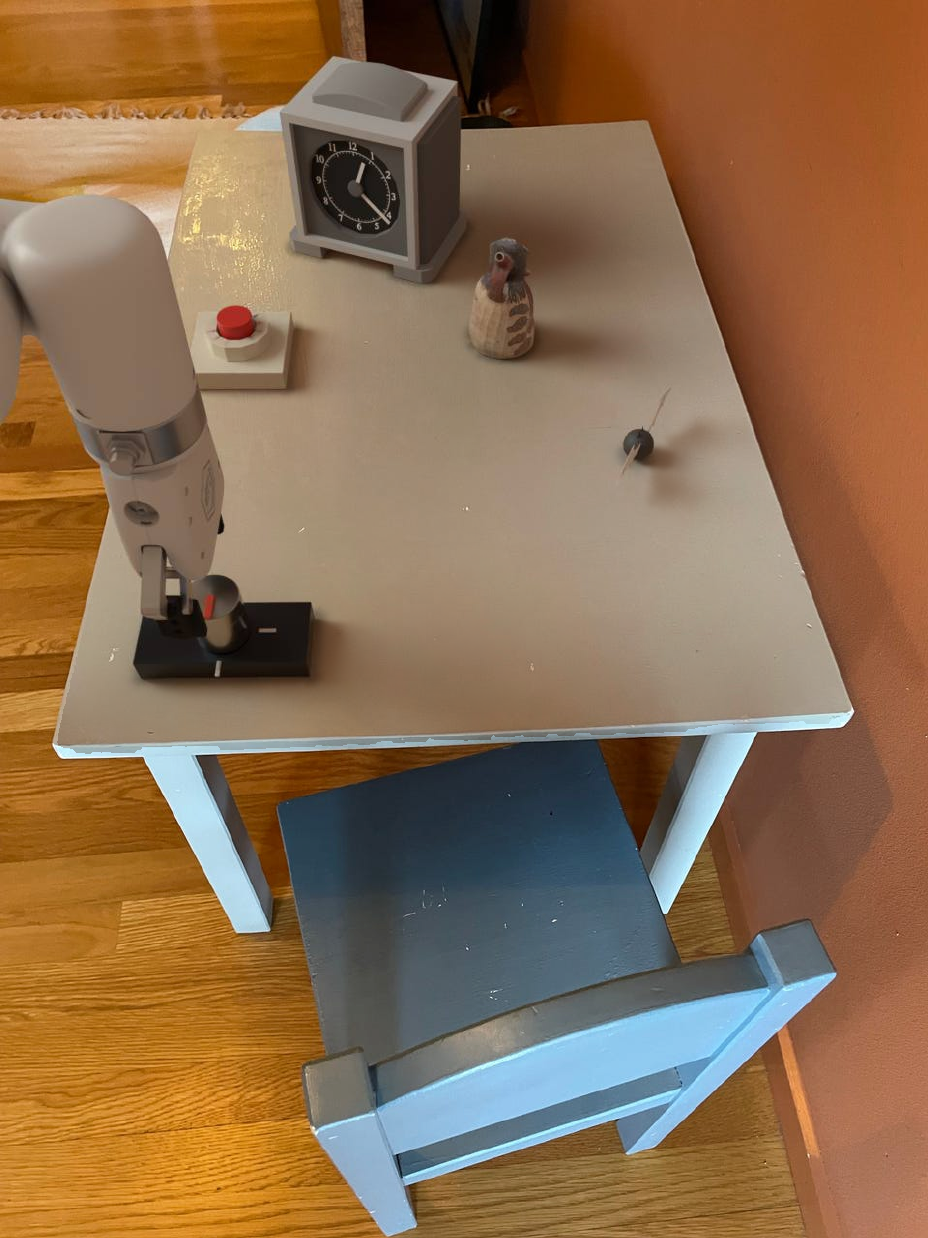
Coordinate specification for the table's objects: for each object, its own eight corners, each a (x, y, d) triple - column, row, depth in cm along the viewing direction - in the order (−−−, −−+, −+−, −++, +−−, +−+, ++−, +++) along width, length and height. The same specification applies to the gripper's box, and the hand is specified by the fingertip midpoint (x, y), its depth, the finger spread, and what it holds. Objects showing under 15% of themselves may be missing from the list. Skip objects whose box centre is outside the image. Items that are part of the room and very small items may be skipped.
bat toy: (675, 413, 94) (686, 377, 90) (622, 510, 87) (630, 476, 83) (648, 403, 95) (657, 368, 91) (593, 499, 87) (600, 464, 83)
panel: (138, 693, 75) (128, 676, 72) (155, 607, 79) (147, 589, 77) (308, 691, 75) (304, 674, 73) (316, 605, 80) (312, 587, 77)
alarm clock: (287, 249, 108) (261, 90, 93) (333, 192, 115) (317, 34, 100) (429, 285, 105) (427, 125, 90) (469, 223, 112) (472, 66, 97)
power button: (217, 341, 94) (214, 327, 92) (222, 318, 96) (218, 304, 94) (252, 341, 94) (249, 327, 92) (256, 318, 96) (253, 304, 94)
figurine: (544, 331, 101) (555, 232, 91) (516, 368, 97) (524, 270, 87) (487, 310, 103) (492, 212, 93) (457, 347, 99) (459, 248, 89)
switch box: (190, 389, 95) (180, 358, 91) (203, 327, 100) (195, 296, 97) (286, 389, 95) (280, 358, 92) (294, 327, 101) (288, 296, 97)
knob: (200, 609, 76) (185, 572, 72) (253, 609, 76) (241, 571, 72) (193, 654, 74) (177, 618, 69) (248, 653, 74) (235, 617, 69)
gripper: (180, 521, 50) (231, 679, 64) (220, 321, 60) (257, 496, 74) (42, 519, 50) (124, 678, 64) (105, 318, 59) (164, 494, 74)
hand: (195, 580), depth 69 cm, fingers open, 9 cm apart
